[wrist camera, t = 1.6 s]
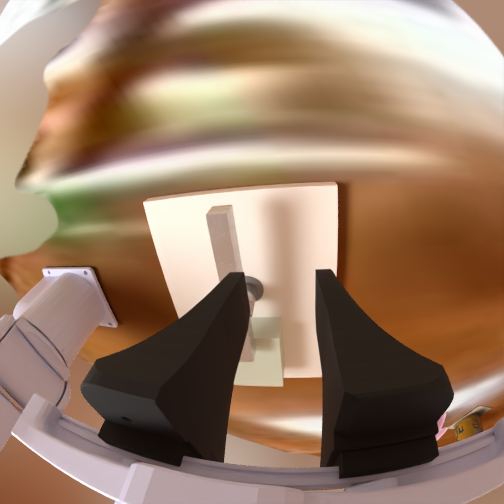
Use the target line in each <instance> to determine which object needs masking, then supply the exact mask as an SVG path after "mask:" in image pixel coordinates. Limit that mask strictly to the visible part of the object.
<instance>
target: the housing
mask: <svg viewBox="0 0 504 504" xmlns="http://www.w3.org/2000/svg"><path fill="white" fill-rule="evenodd" d="M143 204H144V208H145V212H146V215H147V219H148V223H149V227H150V230H151V234H152V237H153V241H154V244H155V248H156V251H157V254H158V258H159V261H160V264H161V267H162V270H163V274H164V277H165V280H166V283H167V286H168V289H169V292H170V295H171V297H172V300H173V303H174V306H175V309H176V312H177V314H178V317H179V318H181V317H182V316H183V315H185V314H186V313H187V312H188V311H189V310H191V309H192V308H193V307H194V306H195V305H196V304H197V303H199V302H200V301H201V300H202V299H203V298H204V297H205V296H206V295H207V294H208V293H209V292H210V291H211V290H212V289H214V288H215V287H216V286H217V285H218V283H219V277H218V273H217V268H216V264H215V259H214V254H213V249H212V245H211V240H210V235H209V230H208V225H207V220H206V214H207V212H208V211H209V210H210V209H211V207H212V206H220V205H232V206H233V213H234V219H235V225H236V232H237V238H238V244H239V250H240V256H241V263H242V269H243V272H244V274H245V280H246V283H250V284H253V285H254V286H255V287H256V289H257V295H256V300H255V305H254V310H253V314H252V317H281V323H282V336H283V350H284V365H285V368H284V378H307V377H322V370H321V363H320V355H319V348H318V341H317V334H316V320H315V269H331V270H332V271H333V272H334V274H335V275H337V249H338V185H337V184H336V182H310V183H291V184H275V185H261V186H248V187H237V188H227V189H217V190H207V191H199V192H190V193H182V194H175V195H167V196H160V197H153V198H148V199H147V200H146V201H144V202H143Z"/></svg>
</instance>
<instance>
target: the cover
mask: <svg viewBox="0 0 504 504" xmlns="http://www.w3.org/2000/svg"><path fill="white" fill-rule="evenodd" d="M251 323H252V329H253V334H254V340H255V346H256V352H255V358H254V362H239V364H238V368H237V372H236V376H235V380H234V385H248V386H282V387H283V381H284V368H285V365H284V350H283V336H282V323H281V317H251Z"/></svg>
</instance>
